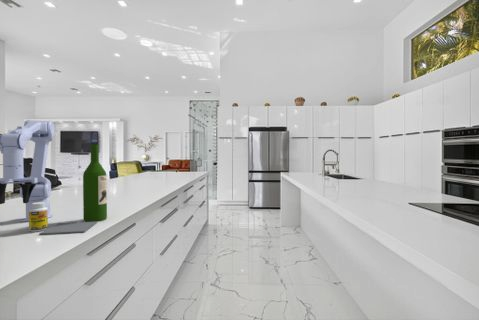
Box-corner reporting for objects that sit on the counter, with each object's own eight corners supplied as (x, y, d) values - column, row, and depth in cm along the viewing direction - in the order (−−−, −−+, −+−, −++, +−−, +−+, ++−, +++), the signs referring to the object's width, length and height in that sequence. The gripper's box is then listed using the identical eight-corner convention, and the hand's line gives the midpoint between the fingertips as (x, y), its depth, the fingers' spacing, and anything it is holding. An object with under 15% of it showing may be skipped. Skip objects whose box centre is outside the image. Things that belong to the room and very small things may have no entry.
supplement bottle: (28, 233, 95) (27, 204, 95) (29, 229, 100) (29, 202, 100) (47, 230, 98) (47, 203, 98) (48, 227, 103) (47, 201, 103)
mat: (58, 224, 107) (58, 223, 107) (97, 222, 109) (97, 221, 109) (39, 235, 93) (39, 233, 93) (84, 232, 96) (84, 230, 96)
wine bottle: (100, 222, 111) (99, 144, 110) (78, 222, 111) (77, 144, 110) (110, 217, 119) (110, 145, 119) (91, 217, 120) (90, 145, 119)
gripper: (-19, 166, 92) (-18, 206, 92) (29, 166, 95) (30, 204, 95) (-4, 166, 98) (-4, 202, 99) (40, 165, 101) (40, 201, 102)
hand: (14, 203), depth 97 cm, fingers open, 7 cm apart
